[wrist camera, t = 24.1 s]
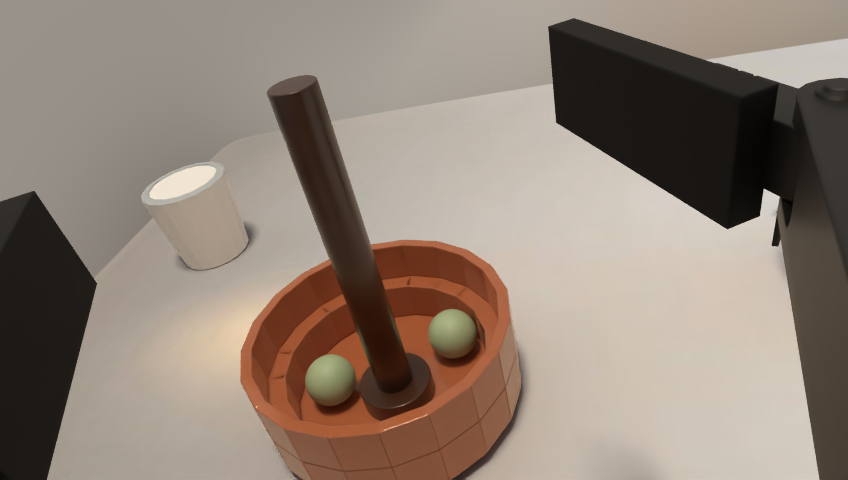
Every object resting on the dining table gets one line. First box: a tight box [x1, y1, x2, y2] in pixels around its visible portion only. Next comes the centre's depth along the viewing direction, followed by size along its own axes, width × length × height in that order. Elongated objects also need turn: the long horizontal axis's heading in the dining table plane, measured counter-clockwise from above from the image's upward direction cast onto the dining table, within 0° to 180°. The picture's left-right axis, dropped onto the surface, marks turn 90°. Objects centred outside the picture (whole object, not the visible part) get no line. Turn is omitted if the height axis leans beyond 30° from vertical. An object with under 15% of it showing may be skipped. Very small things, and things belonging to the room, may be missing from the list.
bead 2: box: [428, 309, 477, 359], centre depth 33 cm, size 3×3×3 cm
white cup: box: [141, 162, 249, 270], centre depth 49 cm, size 7×7×7 cm
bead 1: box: [305, 354, 356, 406], centre depth 32 cm, size 3×3×3 cm
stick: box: [267, 75, 435, 421], centre depth 27 cm, size 4×4×18 cm
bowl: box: [241, 240, 522, 480], centre depth 32 cm, size 14×14×6 cm
